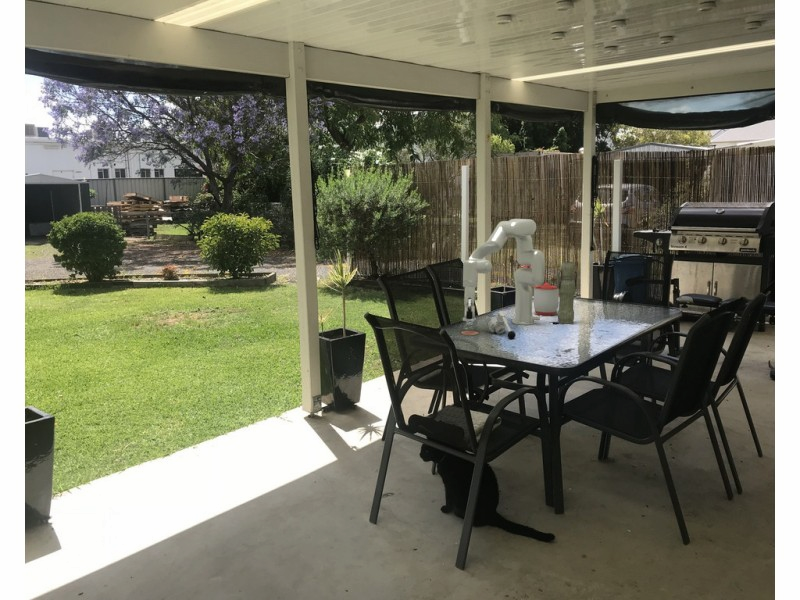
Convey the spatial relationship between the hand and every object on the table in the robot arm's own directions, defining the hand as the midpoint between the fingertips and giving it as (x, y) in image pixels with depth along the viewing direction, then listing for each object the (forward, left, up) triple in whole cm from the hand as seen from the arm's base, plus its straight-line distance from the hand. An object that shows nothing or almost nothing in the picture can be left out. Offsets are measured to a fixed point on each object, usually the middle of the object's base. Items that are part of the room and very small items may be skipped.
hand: (469, 317), depth 340 cm
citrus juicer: (-46, -59, -9) cm, 76 cm away
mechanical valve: (-18, +2, -9) cm, 20 cm away
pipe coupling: (0, 0, -2) cm, 2 cm away
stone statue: (-54, -33, -9) cm, 64 cm away
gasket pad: (0, 0, -9) cm, 9 cm away
